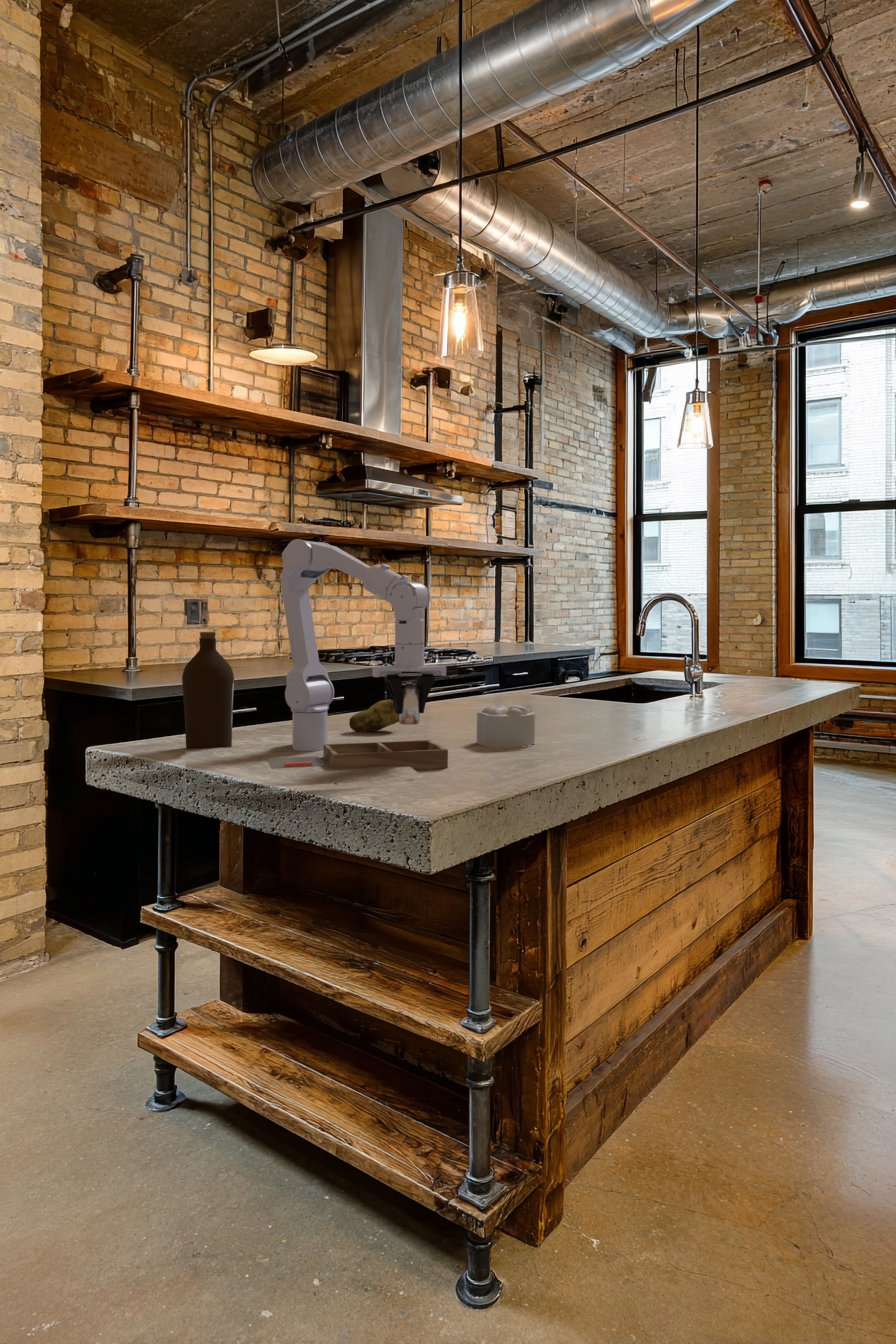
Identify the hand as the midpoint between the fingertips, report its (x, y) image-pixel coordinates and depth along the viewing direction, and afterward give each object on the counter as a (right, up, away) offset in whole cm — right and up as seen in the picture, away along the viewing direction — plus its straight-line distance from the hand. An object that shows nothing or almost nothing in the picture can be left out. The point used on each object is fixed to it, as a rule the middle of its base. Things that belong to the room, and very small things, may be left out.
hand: (409, 713), depth 164 cm
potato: (-10, -7, +42) cm, 43 cm away
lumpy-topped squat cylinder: (+21, -9, +26) cm, 34 cm away
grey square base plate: (-22, -10, -4) cm, 24 cm away
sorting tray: (-5, -10, -1) cm, 11 cm away
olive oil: (-43, -9, +15) cm, 47 cm away
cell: (0, -2, 0) cm, 2 cm away
